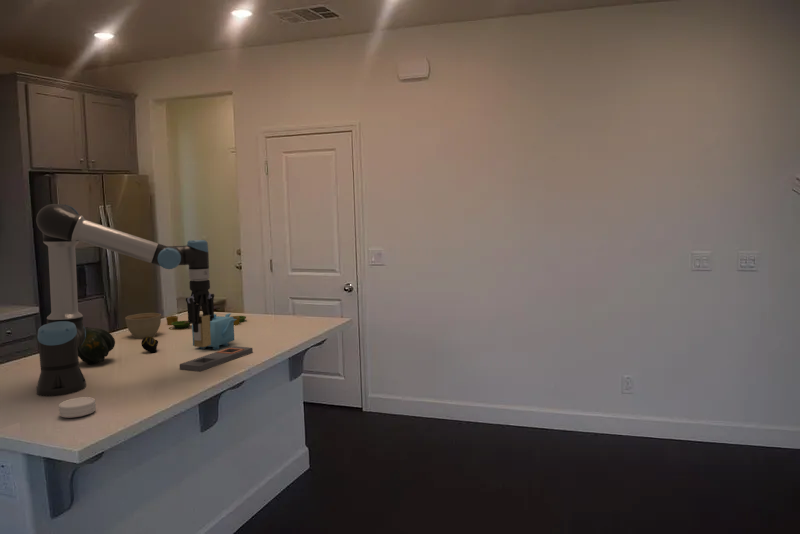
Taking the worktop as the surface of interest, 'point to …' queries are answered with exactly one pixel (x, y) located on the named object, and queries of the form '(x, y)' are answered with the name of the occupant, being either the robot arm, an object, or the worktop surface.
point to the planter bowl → (143, 324)
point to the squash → (95, 345)
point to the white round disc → (77, 407)
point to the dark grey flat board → (215, 358)
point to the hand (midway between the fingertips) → (202, 338)
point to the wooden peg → (204, 331)
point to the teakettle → (220, 331)
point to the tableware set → (185, 324)
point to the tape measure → (149, 344)
